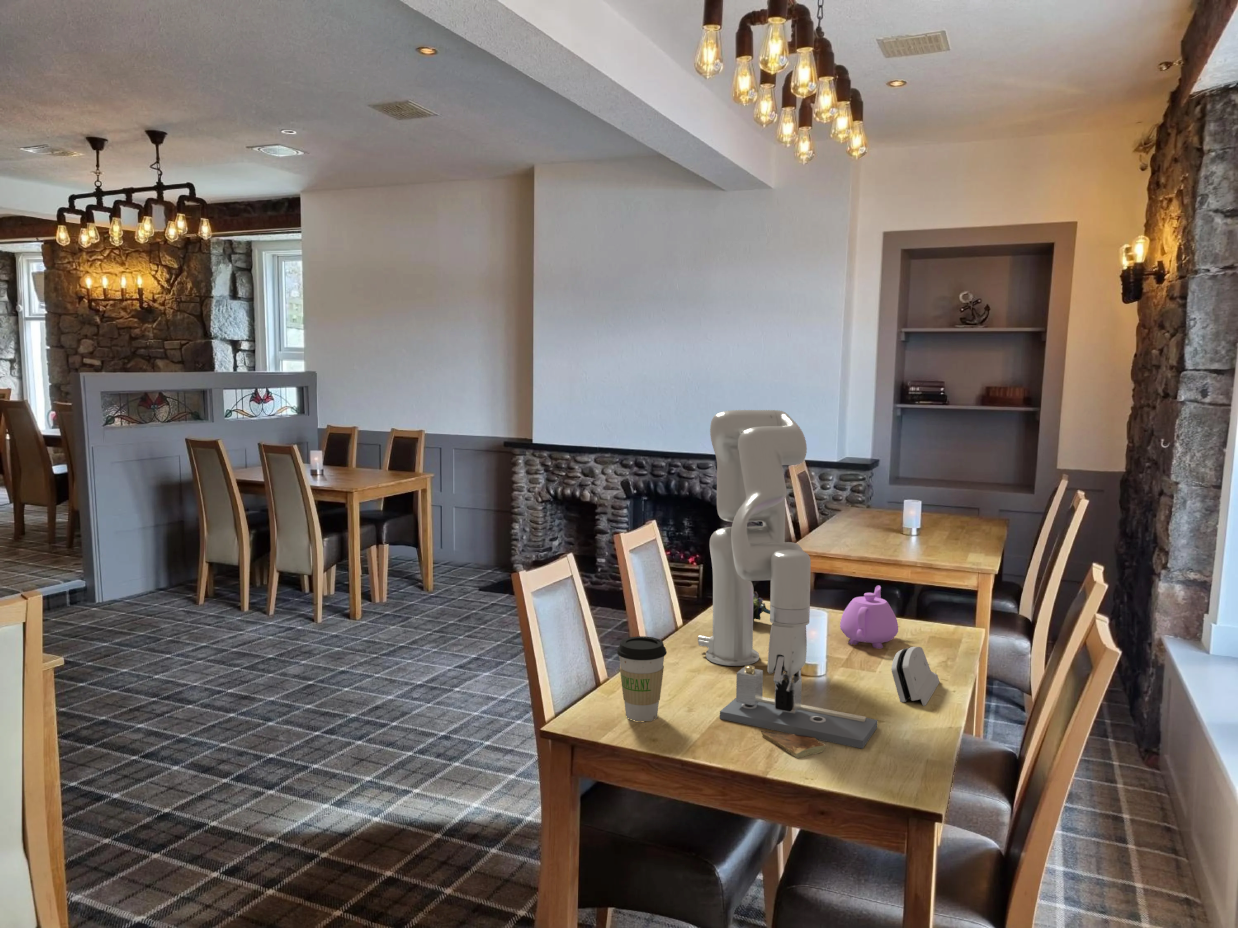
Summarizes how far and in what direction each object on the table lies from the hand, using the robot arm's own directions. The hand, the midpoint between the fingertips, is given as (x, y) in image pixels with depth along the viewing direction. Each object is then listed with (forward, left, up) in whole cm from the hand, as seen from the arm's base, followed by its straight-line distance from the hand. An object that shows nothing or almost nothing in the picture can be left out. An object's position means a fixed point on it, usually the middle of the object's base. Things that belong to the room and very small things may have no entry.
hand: (787, 704), depth 171 cm
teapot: (+1, +60, -4) cm, 60 cm away
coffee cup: (-26, -12, -3) cm, 29 cm away
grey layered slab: (+18, +30, -4) cm, 35 cm away
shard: (+5, -11, -4) cm, 13 cm away
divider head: (0, 0, -1) cm, 1 cm away
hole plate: (+2, 0, -3) cm, 4 cm away
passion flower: (-32, +58, -4) cm, 66 cm away
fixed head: (-8, 0, -1) cm, 8 cm away
